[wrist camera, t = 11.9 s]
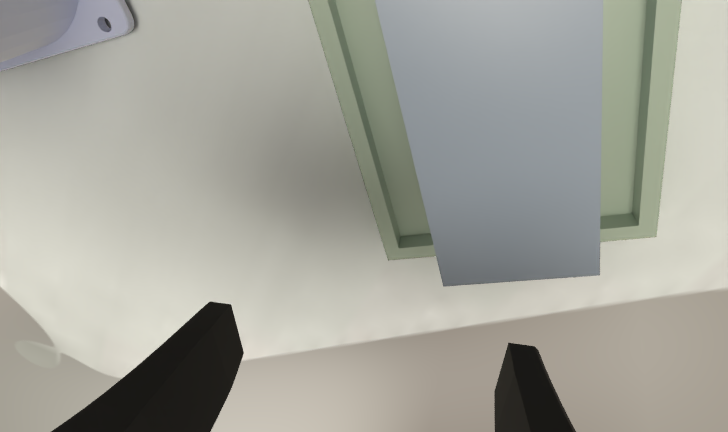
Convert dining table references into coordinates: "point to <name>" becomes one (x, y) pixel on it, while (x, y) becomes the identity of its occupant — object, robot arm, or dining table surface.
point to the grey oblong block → (503, 131)
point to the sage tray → (619, 117)
